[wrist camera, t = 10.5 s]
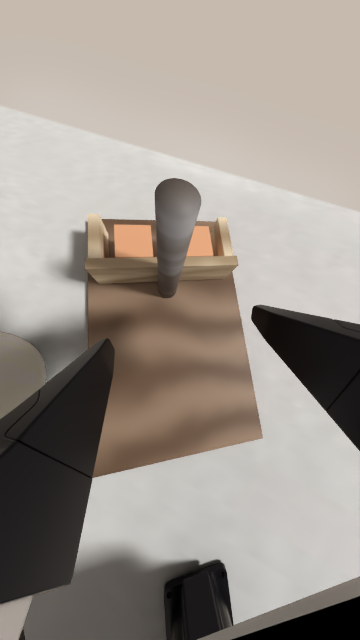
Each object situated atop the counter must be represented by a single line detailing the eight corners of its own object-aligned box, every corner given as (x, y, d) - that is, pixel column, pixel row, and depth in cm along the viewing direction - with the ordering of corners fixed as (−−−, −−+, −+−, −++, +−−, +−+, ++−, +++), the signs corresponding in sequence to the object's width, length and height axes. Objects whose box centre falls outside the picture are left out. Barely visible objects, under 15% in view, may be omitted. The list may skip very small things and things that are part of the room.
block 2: (203, 272, 21) (213, 255, 17) (176, 273, 20) (180, 256, 16) (199, 248, 21) (208, 226, 17) (173, 248, 21) (176, 225, 17)
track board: (259, 435, 18) (262, 438, 18) (90, 473, 15) (88, 478, 15) (221, 225, 23) (222, 221, 23) (90, 222, 20) (88, 218, 20)
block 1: (154, 274, 20) (153, 256, 16) (124, 275, 19) (115, 257, 15) (152, 248, 20) (150, 225, 16) (123, 248, 20) (114, 224, 16)
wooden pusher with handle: (230, 294, 20) (328, 221, 8) (96, 302, 17) (-36, 211, 6) (219, 235, 22) (290, 103, 10) (95, 234, 19) (-10, 53, 7)
